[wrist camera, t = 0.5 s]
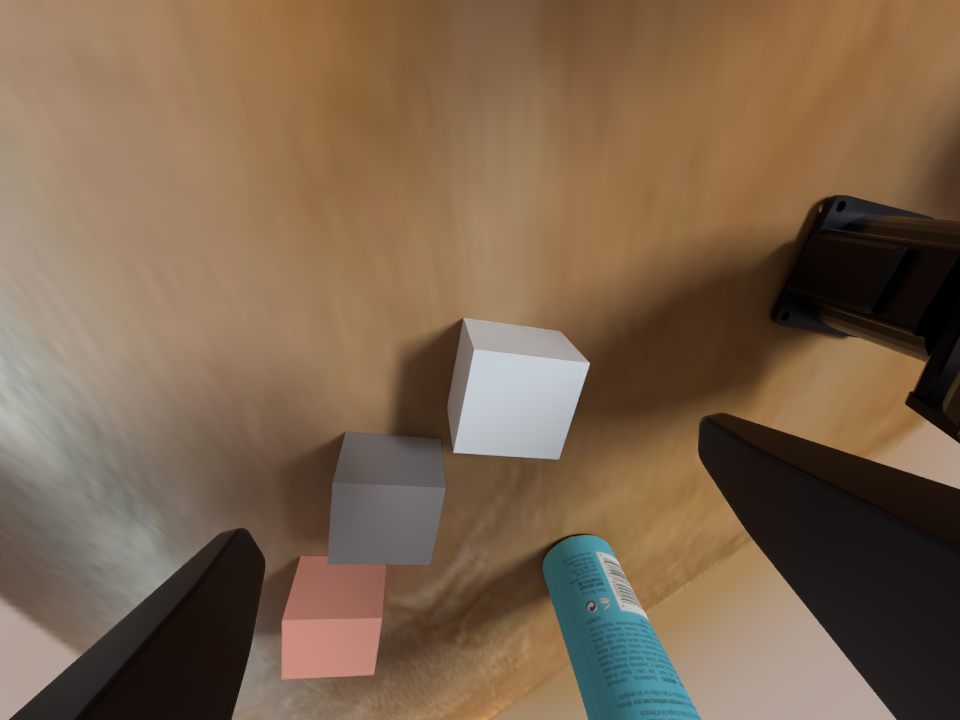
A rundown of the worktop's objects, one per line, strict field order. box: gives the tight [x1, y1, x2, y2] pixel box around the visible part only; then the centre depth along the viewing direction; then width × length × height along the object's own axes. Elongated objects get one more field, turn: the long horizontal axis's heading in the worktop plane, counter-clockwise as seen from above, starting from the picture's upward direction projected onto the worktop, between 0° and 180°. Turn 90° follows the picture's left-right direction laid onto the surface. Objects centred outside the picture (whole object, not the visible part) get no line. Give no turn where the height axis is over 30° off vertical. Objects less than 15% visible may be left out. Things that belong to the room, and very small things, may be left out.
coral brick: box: [282, 556, 386, 679], centre depth 24 cm, size 5×5×4 cm
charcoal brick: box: [327, 432, 446, 565], centre depth 21 cm, size 5×5×4 cm
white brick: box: [447, 318, 590, 460], centre depth 19 cm, size 5×5×4 cm
